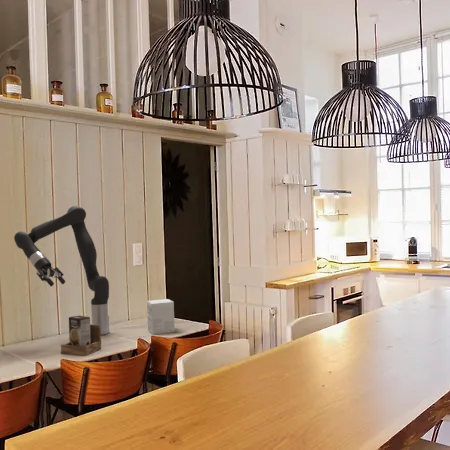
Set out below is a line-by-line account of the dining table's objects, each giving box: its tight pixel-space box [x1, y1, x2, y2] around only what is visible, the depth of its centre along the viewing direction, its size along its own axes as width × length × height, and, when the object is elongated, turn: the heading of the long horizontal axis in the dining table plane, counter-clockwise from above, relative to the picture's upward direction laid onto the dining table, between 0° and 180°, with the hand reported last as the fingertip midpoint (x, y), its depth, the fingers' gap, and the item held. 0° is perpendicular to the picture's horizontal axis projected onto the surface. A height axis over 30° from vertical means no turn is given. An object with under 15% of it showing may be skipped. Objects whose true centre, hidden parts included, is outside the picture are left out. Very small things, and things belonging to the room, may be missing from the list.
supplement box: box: [146, 298, 176, 335], centre depth 283 cm, size 13×13×18 cm
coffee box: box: [68, 315, 91, 346], centre depth 242 cm, size 9×6×16 cm
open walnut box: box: [60, 324, 102, 356], centre depth 243 cm, size 13×14×12 cm
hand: (58, 284), depth 252 cm, fingers open, 8 cm apart
